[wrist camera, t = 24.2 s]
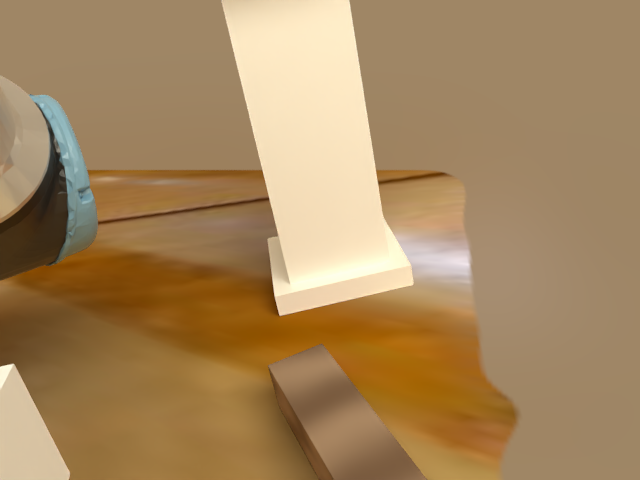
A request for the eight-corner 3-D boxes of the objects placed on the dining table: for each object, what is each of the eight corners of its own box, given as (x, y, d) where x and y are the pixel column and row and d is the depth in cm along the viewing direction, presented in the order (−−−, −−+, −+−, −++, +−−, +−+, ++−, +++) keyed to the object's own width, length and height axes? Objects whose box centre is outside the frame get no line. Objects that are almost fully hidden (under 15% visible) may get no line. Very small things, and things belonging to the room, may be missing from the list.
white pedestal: (271, 251, 65) (193, -60, 52) (381, 225, 65) (331, -88, 52) (280, 322, 52) (180, -64, 39) (416, 290, 53) (362, -102, 40)
